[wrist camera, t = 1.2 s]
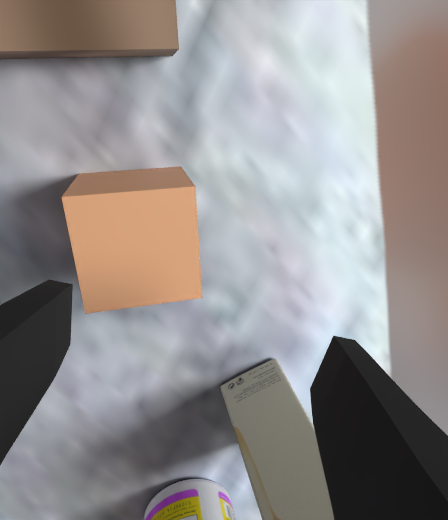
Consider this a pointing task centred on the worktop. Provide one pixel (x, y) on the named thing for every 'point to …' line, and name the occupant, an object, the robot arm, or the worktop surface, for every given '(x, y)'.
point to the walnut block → (87, 28)
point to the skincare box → (277, 445)
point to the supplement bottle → (191, 502)
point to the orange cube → (134, 237)
